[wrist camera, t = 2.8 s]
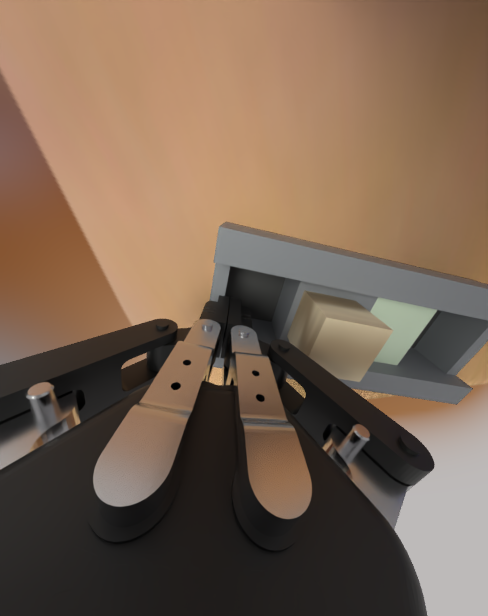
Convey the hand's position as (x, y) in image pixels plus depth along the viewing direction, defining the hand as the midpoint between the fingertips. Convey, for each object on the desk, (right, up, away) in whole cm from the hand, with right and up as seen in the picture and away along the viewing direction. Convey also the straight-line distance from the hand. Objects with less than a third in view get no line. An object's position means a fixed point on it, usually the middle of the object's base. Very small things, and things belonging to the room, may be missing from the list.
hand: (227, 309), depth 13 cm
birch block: (+7, -1, +2) cm, 7 cm away
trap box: (+10, 0, +6) cm, 11 cm away
